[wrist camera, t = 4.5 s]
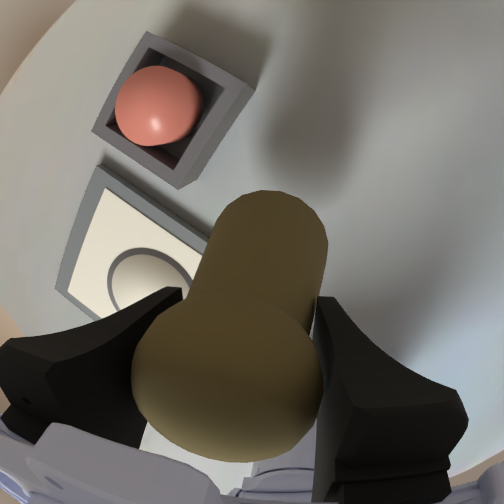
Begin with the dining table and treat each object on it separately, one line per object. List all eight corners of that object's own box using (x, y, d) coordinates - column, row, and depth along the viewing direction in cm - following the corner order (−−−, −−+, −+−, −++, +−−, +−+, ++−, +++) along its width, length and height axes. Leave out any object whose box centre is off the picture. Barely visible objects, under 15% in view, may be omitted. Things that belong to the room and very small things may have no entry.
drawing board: (291, 294, 23) (291, 301, 22) (206, 386, 28) (203, 394, 27) (102, 164, 21) (95, 166, 20) (59, 284, 26) (53, 289, 25)
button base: (255, 91, 18) (246, 83, 15) (196, 179, 21) (178, 189, 17) (168, 43, 17) (146, 31, 14) (119, 128, 20) (91, 131, 17)
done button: (218, 93, 16) (206, 88, 14) (178, 156, 18) (161, 161, 16) (159, 60, 16) (140, 53, 14) (124, 121, 18) (102, 122, 15)
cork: (207, 283, 18) (115, 447, 8) (219, 179, 15) (74, 302, 5) (312, 307, 17) (299, 497, 8) (341, 204, 15) (387, 380, 5)
